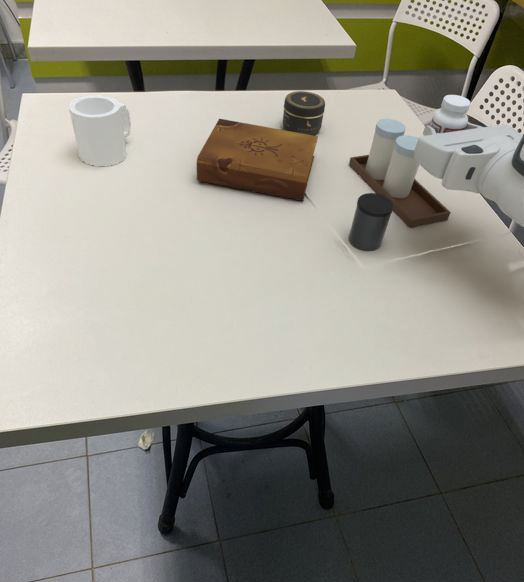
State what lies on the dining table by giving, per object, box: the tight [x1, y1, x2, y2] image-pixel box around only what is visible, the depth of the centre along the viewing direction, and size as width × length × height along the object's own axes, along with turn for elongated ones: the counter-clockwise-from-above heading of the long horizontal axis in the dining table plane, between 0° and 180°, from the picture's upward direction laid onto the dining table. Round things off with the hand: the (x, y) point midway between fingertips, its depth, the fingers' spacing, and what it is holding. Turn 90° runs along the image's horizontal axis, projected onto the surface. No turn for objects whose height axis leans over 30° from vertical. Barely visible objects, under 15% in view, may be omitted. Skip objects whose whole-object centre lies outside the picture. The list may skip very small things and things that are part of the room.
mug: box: [68, 94, 132, 167], centre depth 106 cm, size 14×10×11 cm
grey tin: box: [348, 192, 394, 252], centre depth 93 cm, size 7×7×9 cm
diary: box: [196, 118, 318, 202], centre depth 108 cm, size 23×19×6 cm
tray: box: [348, 154, 452, 229], centre depth 108 cm, size 25×10×2 cm, turn 23°
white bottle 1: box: [365, 118, 407, 180], centre depth 108 cm, size 6×6×11 cm
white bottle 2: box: [383, 134, 420, 198], centre depth 104 cm, size 6×6×11 cm
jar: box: [282, 90, 326, 136], centre depth 121 cm, size 10×10×8 cm
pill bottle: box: [429, 94, 471, 134], centre depth 90 cm, size 6×6×11 cm
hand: (443, 126), depth 90 cm, fingers closed on pill bottle, 6 cm apart
